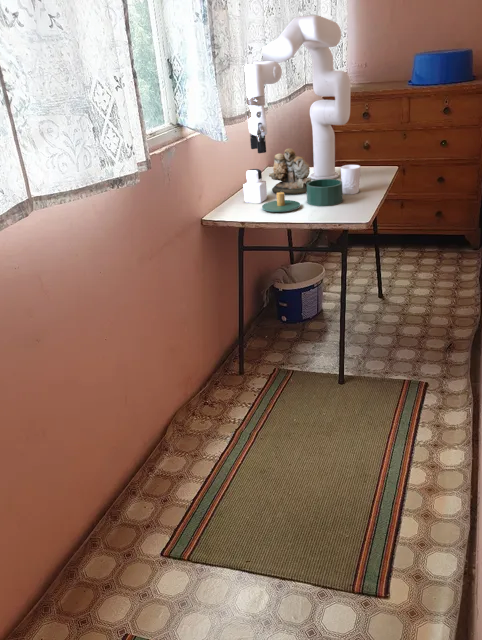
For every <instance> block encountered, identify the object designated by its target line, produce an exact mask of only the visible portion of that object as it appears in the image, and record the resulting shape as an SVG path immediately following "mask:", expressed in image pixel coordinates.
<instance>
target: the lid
mask: <svg viewBox="0 0 482 640" xmlns="http://www.w3.org/2000/svg"><path fill="white" fill-rule="evenodd" d="M285 196H286V195H284V192H282V191H281V192H278V193H277V194H276V200H272V201H269V202H266V203H264V204H262V205H261V209H262V210H263V211H265V212H270V213H287V212H291V211H294V210H297V209H299V208H300V207H301V203H300V202H299V201H297V200H290V199H286V198H285Z"/></svg>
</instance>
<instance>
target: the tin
mask: <svg viewBox="0 0 482 640" xmlns="http://www.w3.org/2000/svg"><path fill="white" fill-rule="evenodd" d="M306 185H307V192H306V203H307V204H308V205H310V206H314V207H330V206H331V207H332V206H335V205H338V204H341V203H342V202H343V197H344V196H343V194H344V193H342V181H341V179H337V178H335V179H319V180H314V179H312V180H311V181H310V182H308V183H307V184H306Z"/></svg>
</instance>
